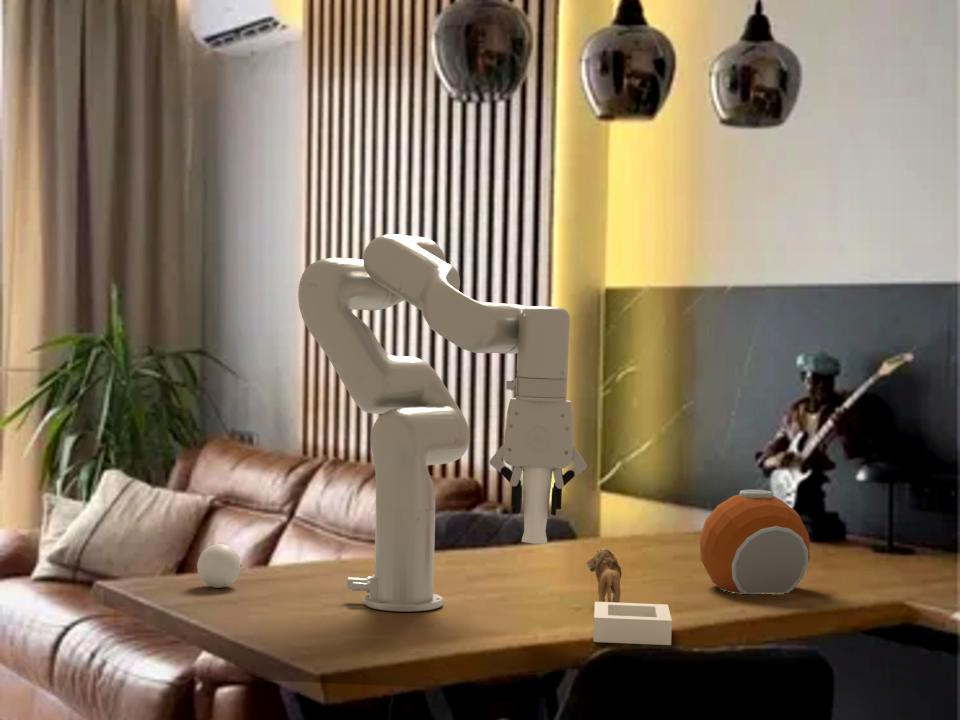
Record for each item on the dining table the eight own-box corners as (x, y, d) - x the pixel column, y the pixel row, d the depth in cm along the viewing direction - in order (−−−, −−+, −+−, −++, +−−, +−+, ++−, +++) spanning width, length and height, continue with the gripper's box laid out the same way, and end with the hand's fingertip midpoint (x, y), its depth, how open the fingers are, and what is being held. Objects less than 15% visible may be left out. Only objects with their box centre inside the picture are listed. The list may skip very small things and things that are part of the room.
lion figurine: (583, 601, 230) (585, 546, 230) (615, 601, 230) (617, 547, 230) (600, 619, 215) (602, 561, 215) (634, 619, 216) (636, 561, 215)
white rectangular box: (593, 641, 199) (594, 617, 199) (594, 624, 211) (594, 601, 211) (671, 645, 198) (671, 620, 198) (667, 627, 210) (668, 604, 210)
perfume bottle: (545, 545, 203) (549, 442, 202) (516, 542, 204) (521, 440, 204) (554, 541, 207) (559, 440, 207) (526, 538, 209) (530, 438, 208)
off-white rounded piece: (242, 591, 231) (243, 547, 231) (196, 591, 230) (197, 547, 230) (240, 580, 241) (240, 538, 241) (196, 581, 240) (197, 538, 240)
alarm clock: (780, 579, 255) (783, 485, 255) (826, 597, 238) (829, 496, 238) (683, 581, 250) (685, 485, 250) (722, 600, 233) (725, 497, 233)
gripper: (481, 388, 202) (476, 513, 203) (598, 394, 201) (593, 520, 201) (486, 386, 210) (481, 506, 210) (599, 391, 208) (593, 512, 209)
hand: (536, 512), depth 206 cm, fingers closed on perfume bottle, 4 cm apart
